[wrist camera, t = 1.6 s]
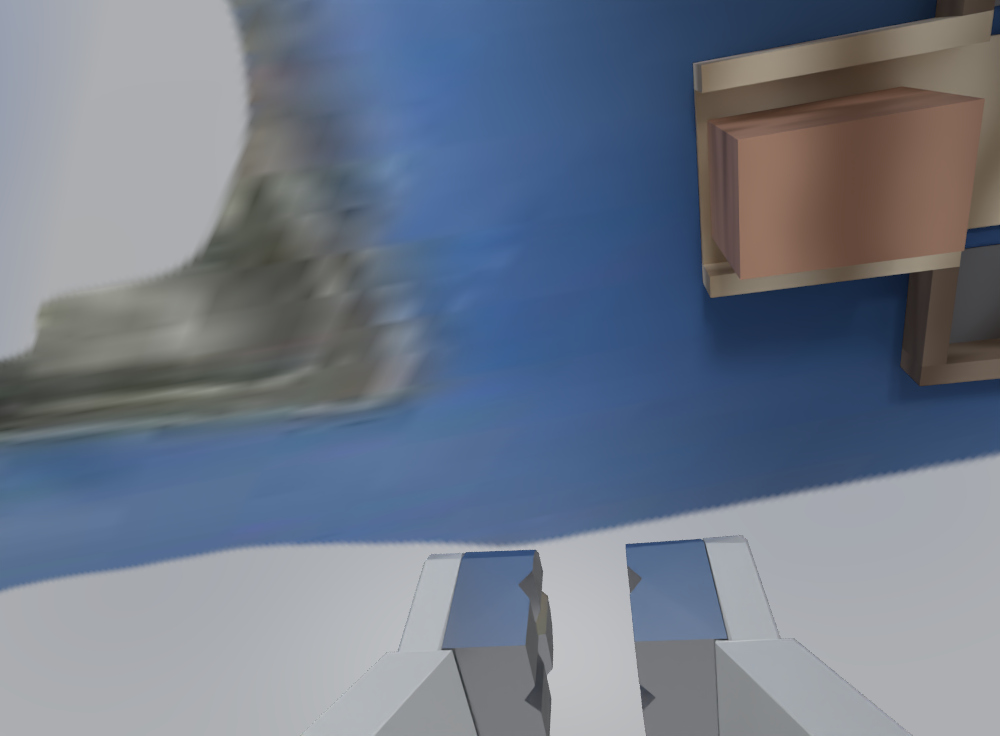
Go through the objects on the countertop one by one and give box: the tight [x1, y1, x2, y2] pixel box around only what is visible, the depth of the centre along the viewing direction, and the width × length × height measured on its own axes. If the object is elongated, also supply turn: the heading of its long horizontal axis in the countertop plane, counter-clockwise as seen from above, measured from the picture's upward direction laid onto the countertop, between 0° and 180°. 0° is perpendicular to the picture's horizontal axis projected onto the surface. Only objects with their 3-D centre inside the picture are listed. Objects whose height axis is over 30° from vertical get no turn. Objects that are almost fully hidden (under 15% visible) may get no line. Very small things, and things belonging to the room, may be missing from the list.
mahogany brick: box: [707, 86, 985, 280], centre depth 30 cm, size 9×6×7 cm, turn 101°
